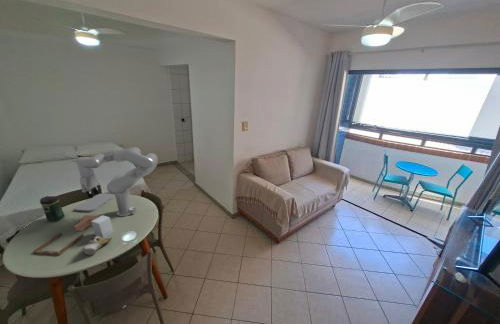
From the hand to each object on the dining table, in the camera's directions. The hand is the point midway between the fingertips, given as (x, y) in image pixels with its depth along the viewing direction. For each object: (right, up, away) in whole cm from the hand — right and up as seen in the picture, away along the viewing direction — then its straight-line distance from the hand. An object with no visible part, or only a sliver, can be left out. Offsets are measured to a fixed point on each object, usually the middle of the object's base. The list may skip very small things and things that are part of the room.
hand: (93, 195), depth 143 cm
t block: (-1, -20, -4) cm, 21 cm away
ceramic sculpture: (+23, -28, -25) cm, 44 cm away
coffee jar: (-29, -18, +1) cm, 34 cm away
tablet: (-15, -11, +22) cm, 29 cm away
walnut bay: (-2, -26, -22) cm, 35 cm away
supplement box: (+19, -24, -14) cm, 34 cm away
